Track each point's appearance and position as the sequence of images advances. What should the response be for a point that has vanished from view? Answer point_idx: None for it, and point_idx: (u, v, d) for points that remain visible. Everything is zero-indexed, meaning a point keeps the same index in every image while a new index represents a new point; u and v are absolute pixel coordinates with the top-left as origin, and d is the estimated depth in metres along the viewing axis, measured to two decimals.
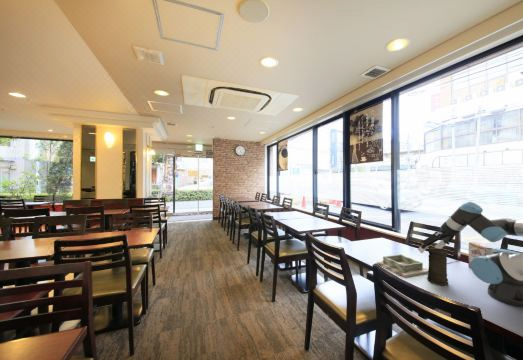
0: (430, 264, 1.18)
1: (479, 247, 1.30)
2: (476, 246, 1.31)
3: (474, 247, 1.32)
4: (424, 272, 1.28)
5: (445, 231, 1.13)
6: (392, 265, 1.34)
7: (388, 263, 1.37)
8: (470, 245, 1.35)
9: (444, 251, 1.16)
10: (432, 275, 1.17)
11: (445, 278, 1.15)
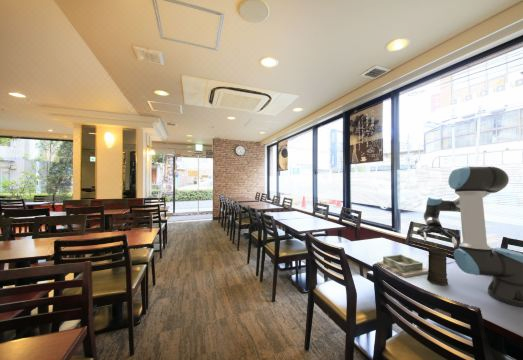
0: (430, 264, 1.19)
1: None
2: None
3: None
4: (424, 272, 1.28)
5: (427, 225, 1.38)
6: (392, 265, 1.34)
7: (388, 263, 1.37)
8: None
9: (444, 251, 1.16)
10: (432, 275, 1.17)
11: (445, 278, 1.15)
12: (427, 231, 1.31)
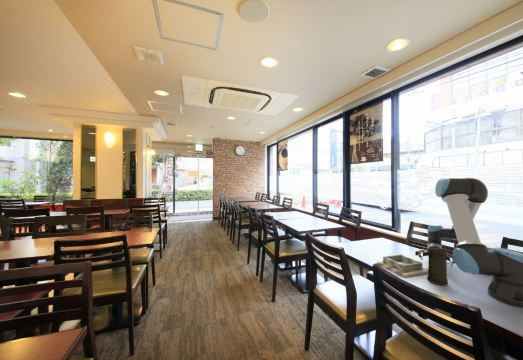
0: (430, 264, 1.19)
1: None
2: None
3: None
4: (424, 272, 1.28)
5: None
6: (392, 265, 1.34)
7: (388, 263, 1.37)
8: None
9: (444, 251, 1.16)
10: (432, 275, 1.17)
11: (445, 278, 1.15)
12: (426, 253, 1.34)
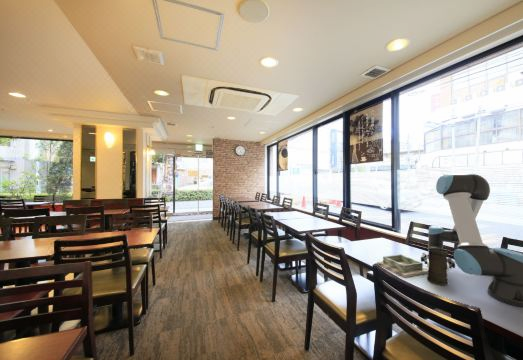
0: (430, 264, 1.18)
1: None
2: None
3: None
4: (424, 272, 1.28)
5: None
6: (392, 265, 1.34)
7: (388, 263, 1.37)
8: None
9: (444, 251, 1.16)
10: (432, 275, 1.17)
11: (445, 278, 1.15)
12: None
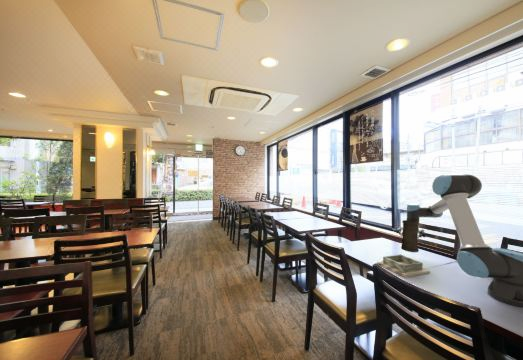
0: (403, 234, 1.33)
1: None
2: None
3: None
4: (424, 272, 1.28)
5: None
6: (392, 265, 1.34)
7: (388, 263, 1.37)
8: None
9: (416, 222, 1.30)
10: (405, 244, 1.31)
11: (416, 246, 1.29)
12: None
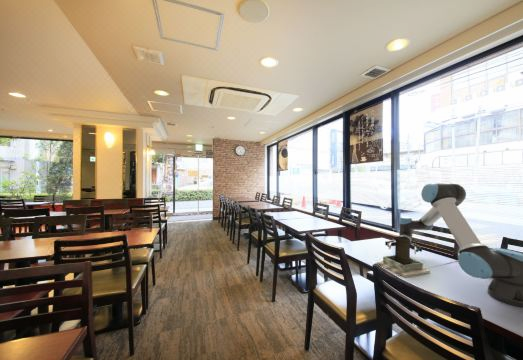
0: (396, 250, 1.36)
1: None
2: None
3: None
4: (424, 272, 1.28)
5: None
6: (392, 265, 1.34)
7: (388, 263, 1.37)
8: None
9: (408, 239, 1.33)
10: (397, 260, 1.35)
11: (408, 262, 1.32)
12: (394, 243, 1.44)
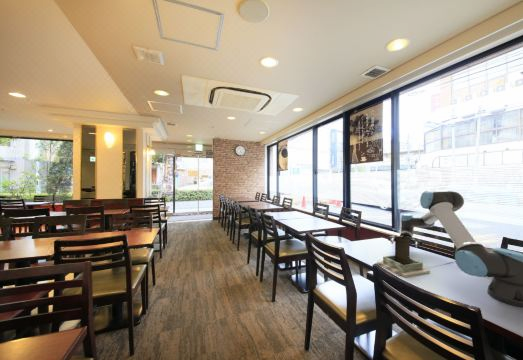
0: (396, 250, 1.36)
1: None
2: None
3: None
4: (424, 272, 1.28)
5: (399, 236, 1.60)
6: (392, 265, 1.34)
7: (388, 263, 1.37)
8: None
9: (407, 239, 1.33)
10: (397, 260, 1.35)
11: (408, 262, 1.32)
12: None
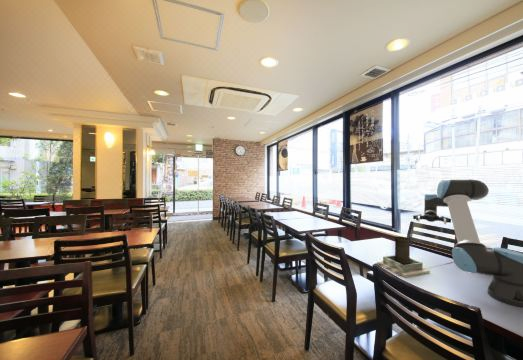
0: (396, 250, 1.36)
1: None
2: None
3: None
4: (424, 272, 1.28)
5: (424, 215, 1.55)
6: (392, 265, 1.34)
7: (388, 263, 1.37)
8: None
9: (407, 239, 1.33)
10: (397, 260, 1.35)
11: (408, 262, 1.32)
12: (422, 217, 1.49)
